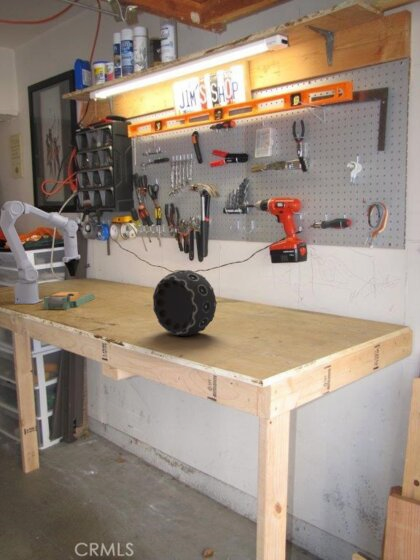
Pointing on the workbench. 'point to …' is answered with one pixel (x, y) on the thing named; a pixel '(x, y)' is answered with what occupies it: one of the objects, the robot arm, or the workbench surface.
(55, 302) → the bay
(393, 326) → the workbench surface
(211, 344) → the workbench surface
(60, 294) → the orange square block
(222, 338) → the workbench surface
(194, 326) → the dark studded ball
